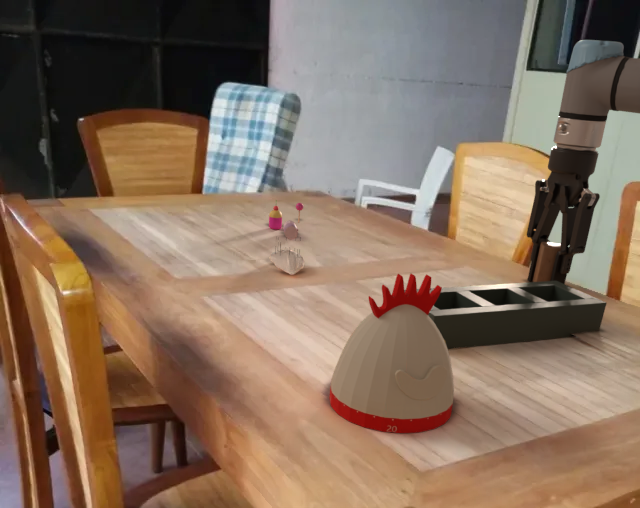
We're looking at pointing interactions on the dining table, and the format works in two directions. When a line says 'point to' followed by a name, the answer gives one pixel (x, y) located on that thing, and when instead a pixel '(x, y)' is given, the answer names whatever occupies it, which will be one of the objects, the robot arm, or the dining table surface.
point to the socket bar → (513, 313)
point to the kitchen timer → (396, 365)
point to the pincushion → (287, 260)
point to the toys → (288, 226)
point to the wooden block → (545, 261)
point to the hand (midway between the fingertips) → (544, 285)
